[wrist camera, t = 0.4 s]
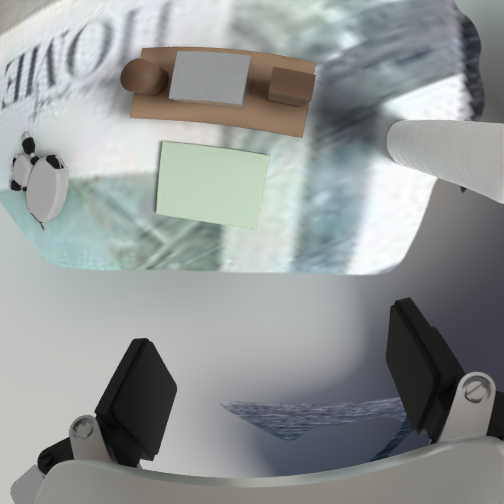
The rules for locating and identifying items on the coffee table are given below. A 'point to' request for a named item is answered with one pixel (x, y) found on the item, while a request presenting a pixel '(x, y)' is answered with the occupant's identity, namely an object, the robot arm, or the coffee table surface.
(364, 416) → the coffee table surface
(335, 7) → the coffee table surface
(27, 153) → the toy panda
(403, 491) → the robot arm
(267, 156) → the mat
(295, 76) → the plane body
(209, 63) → the grey rectangular block
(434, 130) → the water bottle
